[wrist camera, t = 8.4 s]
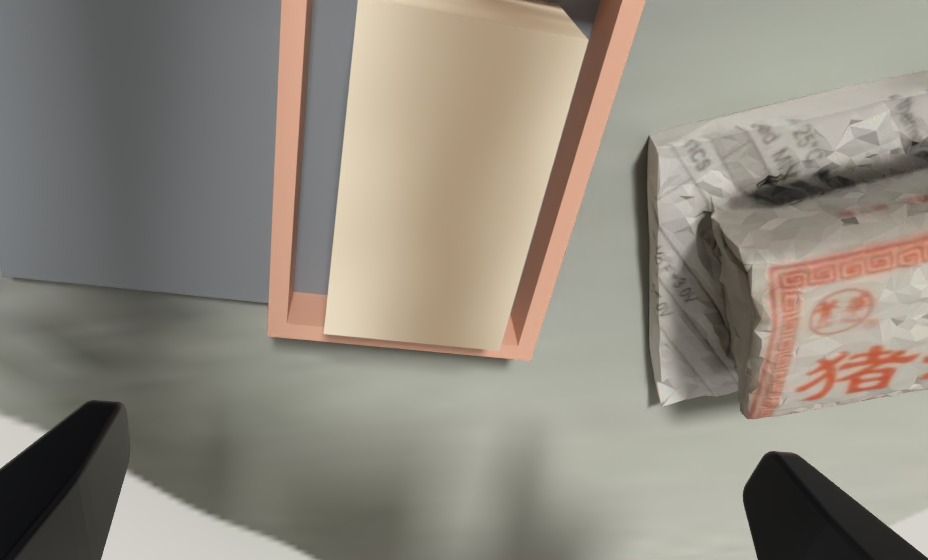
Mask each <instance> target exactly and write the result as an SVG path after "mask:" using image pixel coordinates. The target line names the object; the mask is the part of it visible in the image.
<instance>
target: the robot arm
mask: <svg viewBox="0 0 928 560" xmlns="http://www.w3.org/2000/svg"><path fill="white" fill-rule="evenodd" d="M129 457H130V440H129V430H128V421H127V412H126V408H125V406H124V405H123V404H122V403H120V402H110V401H97V400H92V401H89V402H86V403H85V404H83V405H82V406H81V407H79V408H78V409H77V410H75V411H74V412H73V413H71V414H70V415H69V416H68V417H66V418H65V419H64V420H62V421H61V422H60V423H59V424H57V425H56V426H55V427H53V428H52V429H51V430H50V431H48V432H47V433H46V434H44V435H43V436H42V437H41V438H39V439H38V440H37V441H35V442H34V443H33V444H32V445H30V446H29V447H28V448H26V449H25V450H24V451H23V452H21V453H20V454H19V455H17V456H16V457H15V458H14V459H12V460H11V461H10V462H9V463H7V464H6V465H5V466H3V467H2V468H1V469H0V560H101V557H102V554H103V550H104V547H105V544H106V540H107V537H108V533H109V530H110V526H111V522H112V519H113V516H114V512H115V508H116V505H117V502H118V498H119V495H120V491H121V488H122V484H123V481H124V477H125V474H126V470H127V467H128V463H129ZM743 503H744V507H745V511H746V515H747V519H748V523H749V527H750V531H751V535H752V539H753V543H754V547H755V551H756V555H757V558H758V560H928V558H927V557H926V556H924V555H923V554H922V553H921V552H919V551H918V550H917V549H915V548H914V547H913V546H912V545H910V544H909V543H908V542H907V541H906V540H904V539H903V538H902V537H900V536H899V535H898V534H897V533H895V532H894V531H893V530H892V529H891V528H889V527H888V526H887V525H886V524H884V523H883V522H882V521H880V520H879V519H878V518H877V517H875V516H874V515H873V514H872V513H870V512H869V511H868V510H867V509H865V508H864V507H863V506H862V505H860V504H859V503H858V502H857V501H855V500H854V499H853V498H852V497H850V496H849V495H848V494H847V493H845V492H844V491H843V490H842V489H840V488H839V487H838V486H837V485H835V484H834V483H833V482H832V481H830V480H829V479H828V478H827V477H825V476H824V475H823V474H822V473H820V472H819V471H818V470H816V469H815V468H814V467H813V466H811V465H810V464H809V463H808V462H806V461H805V460H804V459H803V458H801V457H800V456H799V455H797V454H794V453H789V452H776V451H771V452H768V453H766V454H765V455H764V456H763V457H762V459H761V460H760V462H759V464H758V465H757V467H756V468H755V470H754V472H753V473H752V475H751V476H750V478H749V480H748V481H747V483H746V485H745V487H744V490H743Z"/></svg>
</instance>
